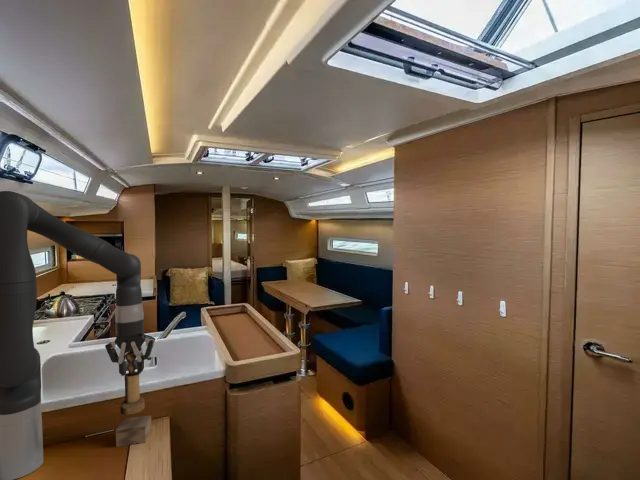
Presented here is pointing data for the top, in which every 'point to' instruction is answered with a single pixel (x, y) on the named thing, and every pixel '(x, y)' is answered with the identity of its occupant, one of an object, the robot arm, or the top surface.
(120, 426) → the walnut stand
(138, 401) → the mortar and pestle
